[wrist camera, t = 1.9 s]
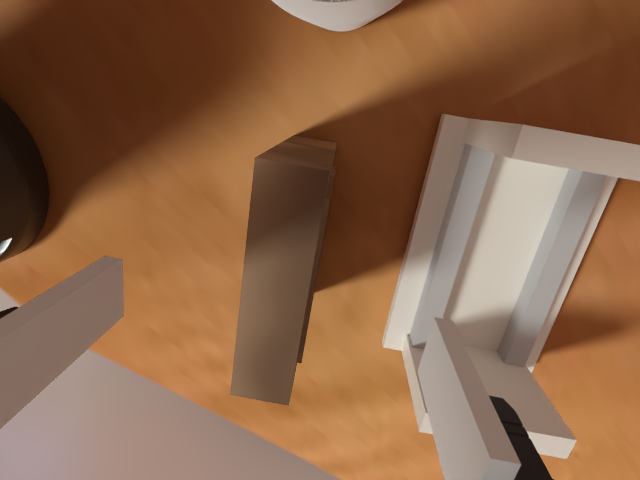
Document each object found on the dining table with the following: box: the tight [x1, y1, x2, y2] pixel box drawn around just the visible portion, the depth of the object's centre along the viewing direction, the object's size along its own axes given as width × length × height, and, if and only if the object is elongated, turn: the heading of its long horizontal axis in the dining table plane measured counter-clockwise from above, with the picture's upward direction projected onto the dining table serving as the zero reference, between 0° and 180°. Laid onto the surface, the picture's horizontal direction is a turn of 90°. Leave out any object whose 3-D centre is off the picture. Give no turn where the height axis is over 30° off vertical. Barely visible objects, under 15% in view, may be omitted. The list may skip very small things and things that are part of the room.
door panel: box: [230, 135, 337, 405], centre depth 23 cm, size 3×12×12 cm, turn 170°
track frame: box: [382, 114, 640, 459], centre depth 24 cm, size 12×18×9 cm, turn 171°
